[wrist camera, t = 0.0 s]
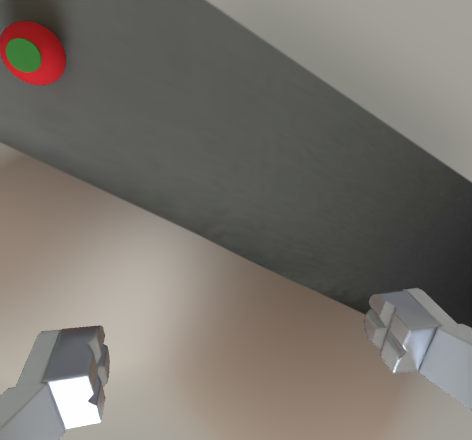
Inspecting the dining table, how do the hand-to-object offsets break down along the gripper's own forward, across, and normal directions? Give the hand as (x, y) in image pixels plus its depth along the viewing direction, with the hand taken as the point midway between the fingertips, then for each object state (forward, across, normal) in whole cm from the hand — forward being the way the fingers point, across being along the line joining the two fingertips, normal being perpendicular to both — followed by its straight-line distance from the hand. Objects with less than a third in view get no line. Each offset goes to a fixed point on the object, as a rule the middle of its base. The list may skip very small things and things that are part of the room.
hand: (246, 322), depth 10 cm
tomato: (+29, +13, -6) cm, 32 cm away
